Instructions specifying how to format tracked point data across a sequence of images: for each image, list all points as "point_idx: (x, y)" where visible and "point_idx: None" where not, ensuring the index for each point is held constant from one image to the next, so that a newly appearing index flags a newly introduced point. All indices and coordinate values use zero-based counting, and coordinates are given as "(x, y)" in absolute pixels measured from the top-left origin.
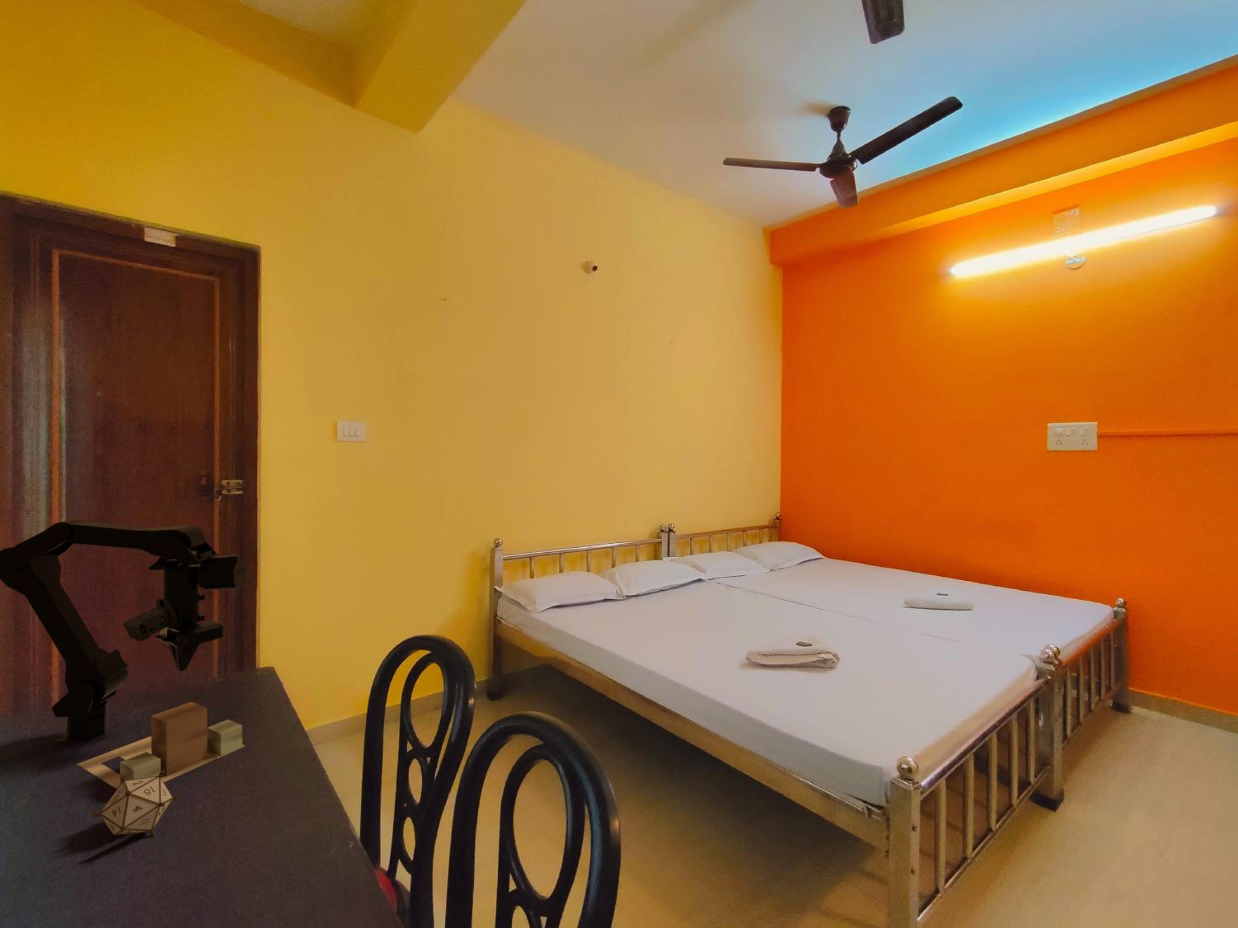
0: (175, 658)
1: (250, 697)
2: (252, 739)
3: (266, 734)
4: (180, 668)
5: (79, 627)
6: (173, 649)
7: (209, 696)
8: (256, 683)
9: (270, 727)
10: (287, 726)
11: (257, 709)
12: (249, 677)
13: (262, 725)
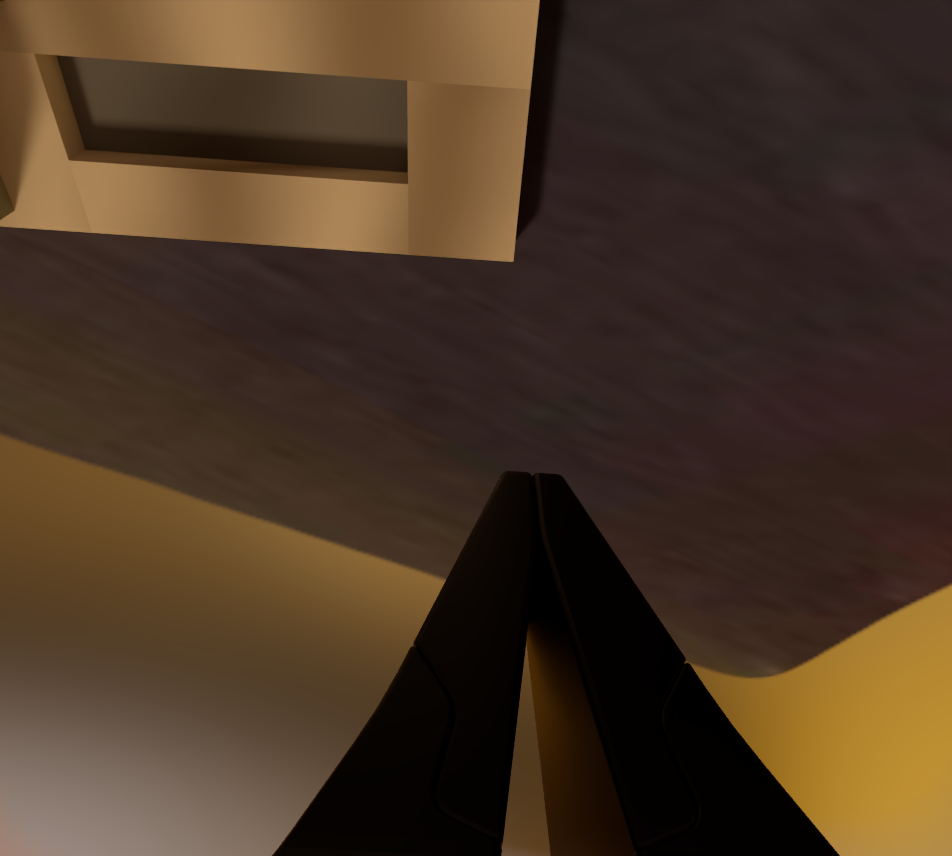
0: (559, 605)
1: None
2: (44, 304)
3: (56, 363)
4: (492, 498)
5: None
6: (610, 774)
7: (785, 486)
8: (677, 617)
9: (129, 410)
10: (77, 444)
11: (396, 489)
12: (769, 637)
13: (185, 408)
